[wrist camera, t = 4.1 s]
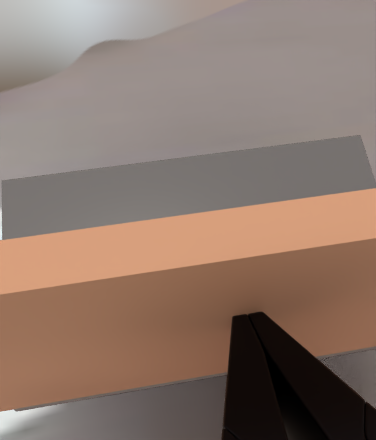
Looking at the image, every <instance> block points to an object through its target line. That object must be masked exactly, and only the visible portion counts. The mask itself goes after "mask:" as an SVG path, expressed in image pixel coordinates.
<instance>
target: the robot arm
mask: <svg viewBox="0 0 376 440" xmlns="http://www.w3.org/2000/svg"><path fill="white" fill-rule="evenodd" d="M221 440H376V409H375V408H374V407H372V406H371V405H370V404H369V403H368V402H366V403H365V400H364V399H363V398H362V397H361V396H360V395H358V394H357V393H356V392H355V391H354V390H353V389H352V388H350V387H349V386H348V385H347V384H346V383H345V382H343V381H342V380H341V379H340V378H339V377H338V376H337V375H335V374H334V373H333V372H332V371H331V370H330V369H328V368H327V367H326V366H325V365H324V364H323V363H322V362H320V361H319V360H318V359H317V358H316V357H315V356H313V355H312V354H311V353H310V352H309V351H308V350H307V349H305V348H304V347H303V346H302V345H301V344H300V343H298V342H297V341H296V340H295V339H294V338H293V337H292V336H290V335H289V334H288V333H287V332H286V331H285V330H283V329H282V328H281V327H280V326H279V325H278V324H277V323H275V322H274V321H273V320H272V319H271V318H270V317H268V316H267V315H266V314H265V313H264V312H262V311H261V312H255V313H249V314H248V315H247V314H242V315H236V316H233V317H232V323H231V335H230V347H229V358H228V370H227V382H226V393H225V405H224V417H223V430H222V438H221Z"/></svg>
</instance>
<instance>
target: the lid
mask: <svg viewBox="0 0 376 440" xmlns="http://www.w3.org/2000/svg"><path fill="white" fill-rule="evenodd" d="M261 311H262V312H264V313H265V314H266V315H267V316H268V317H270V318H271V319H272V320H273V321H274V322H275V323H277V324H278V325H279V326H280V327H281V328H282V329H283V330H285V331H286V332H287V333H288V334H289V335H290V336H292V337H293V338H294V339H295V340H296V341H297V342H298V343H300V344H301V345H302V346H303V347H304V348H305V349H307V350H308V351H309V352H310V353H311V354H312V355H313V356H315V357H316V358H317V359H321V358H327V357H332V356H338V355H344V354H350V353H355V352H361V351H367V350H373V349H376V188H373V189H366V190H359V191H352V192H345V193H338V194H330V195H323V196H316V197H309V198H302V199H294V200H287V201H280V202H273V203H266V204H258V205H251V206H244V207H237V208H230V209H223V210H215V211H208V212H201V213H194V214H187V215H179V216H172V217H165V218H158V219H151V220H143V221H136V222H129V223H122V224H115V225H108V226H100V227H93V228H86V229H79V230H72V231H64V232H57V233H50V234H43V235H36V236H28V237H21V238H14V239H7V240H0V411H6V410H12V409H14V410H15V411H22V410H28V409H34V408H39V407H45V406H51V405H57V404H62V403H68V402H74V401H80V400H85V399H91V398H97V397H103V396H108V395H114V394H120V393H126V392H131V391H137V390H143V389H149V388H154V387H160V386H166V385H172V384H177V383H183V382H189V381H195V380H200V379H206V378H212V377H218V376H223V375H227V370H228V358H229V347H230V335H231V323H232V317H233V316H236V315H242V314H247V315H248V314H249V313H255V312H261Z"/></svg>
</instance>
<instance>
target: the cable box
mask: <svg viewBox="0 0 376 440" xmlns="http://www.w3.org/2000/svg"><path fill="white" fill-rule="evenodd" d="M373 188H376V182H375V179H374V176H373V173H372V170H371V167H370V164H369V161H368V157H367V154H366V151H365V148H364V145H363V142H362V139H361V136H360V135H357V136H349V137H341V138H333V139H325V140H317V141H309V142H301V143H294V144H286V145H278V146H270V147H262V148H254V149H246V150H239V151H231V152H223V153H215V154H207V155H199V156H191V157H183V158H176V159H168V160H160V161H152V162H144V163H136V164H128V165H121V166H113V167H105V168H97V169H89V170H81V171H73V172H66V173H58V174H50V175H42V176H34V177H26V178H18V179H10V180H3V181H2V240H7V239H14V238H21V237H28V236H36V235H43V234H50V233H57V232H64V231H72V230H79V229H86V228H93V227H100V226H108V225H115V224H122V223H129V222H136V221H143V220H151V219H158V218H165V217H172V216H179V215H187V214H194V213H201V212H208V211H215V210H223V209H230V208H237V207H244V206H251V205H258V204H266V203H273V202H280V201H287V200H294V199H302V198H309V197H316V196H323V195H330V194H338V193H345V192H352V191H359V190H366V189H373Z"/></svg>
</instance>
